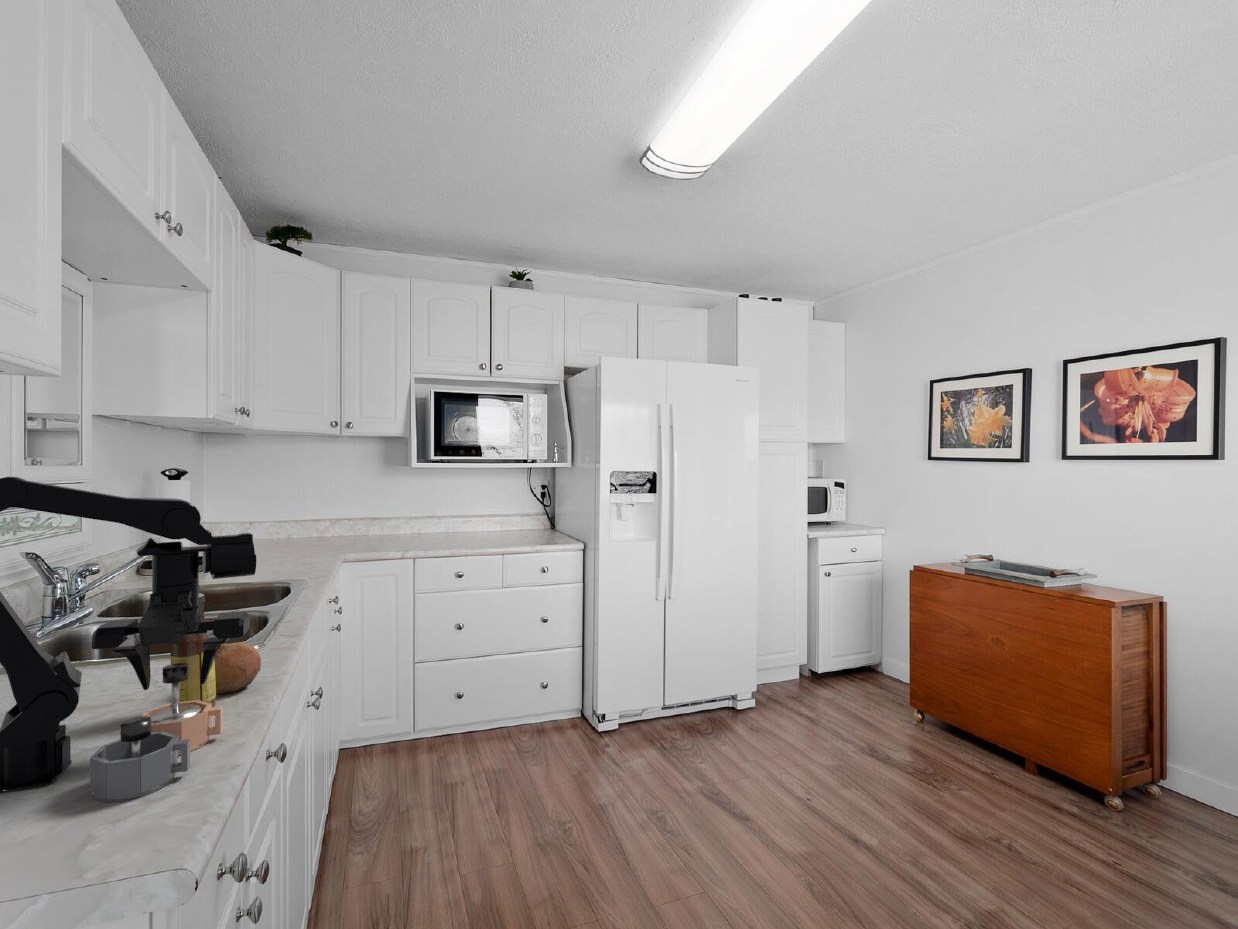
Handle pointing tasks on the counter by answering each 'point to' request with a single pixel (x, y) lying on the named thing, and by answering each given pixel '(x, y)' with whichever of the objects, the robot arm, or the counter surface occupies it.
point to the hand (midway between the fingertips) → (175, 686)
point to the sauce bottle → (194, 665)
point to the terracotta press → (191, 724)
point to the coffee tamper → (135, 732)
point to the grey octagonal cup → (137, 767)
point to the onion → (236, 666)
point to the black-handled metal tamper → (175, 696)
